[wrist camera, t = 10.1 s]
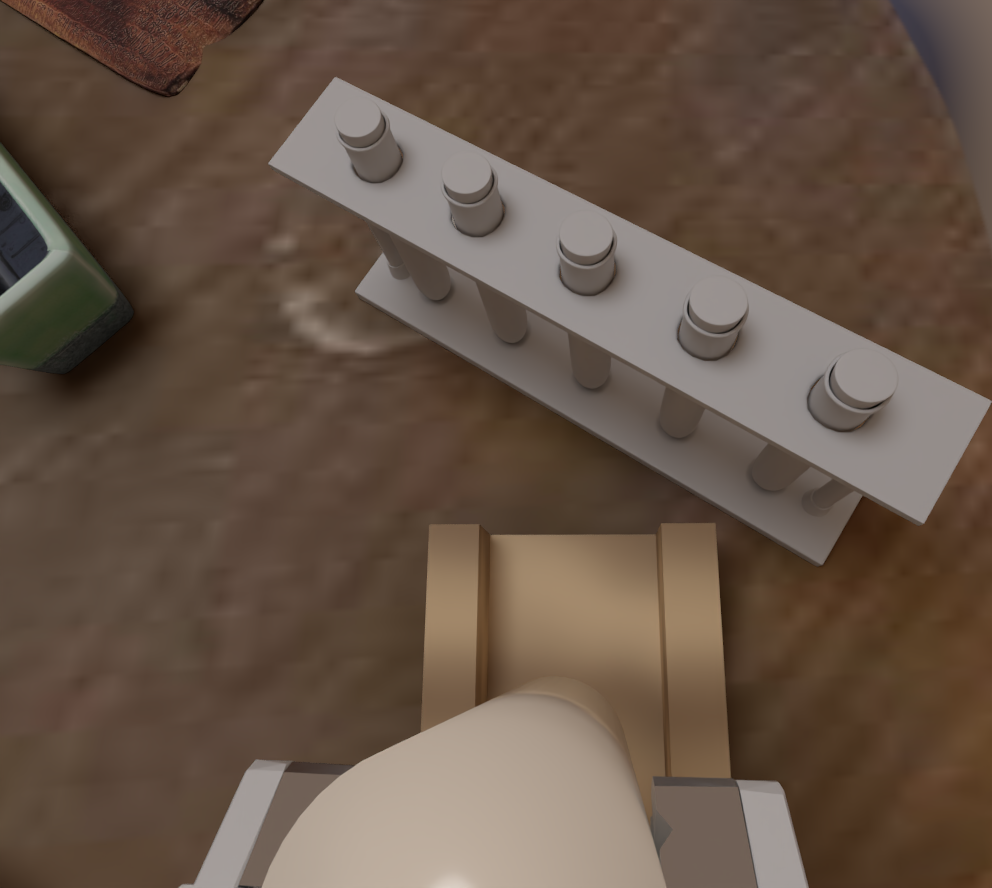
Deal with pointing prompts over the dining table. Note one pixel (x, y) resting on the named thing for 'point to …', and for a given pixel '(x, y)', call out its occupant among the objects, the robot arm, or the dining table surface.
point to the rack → (586, 633)
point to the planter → (48, 283)
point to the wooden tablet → (142, 33)
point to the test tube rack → (633, 331)
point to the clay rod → (485, 804)
